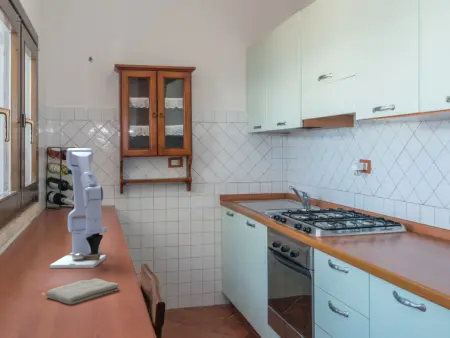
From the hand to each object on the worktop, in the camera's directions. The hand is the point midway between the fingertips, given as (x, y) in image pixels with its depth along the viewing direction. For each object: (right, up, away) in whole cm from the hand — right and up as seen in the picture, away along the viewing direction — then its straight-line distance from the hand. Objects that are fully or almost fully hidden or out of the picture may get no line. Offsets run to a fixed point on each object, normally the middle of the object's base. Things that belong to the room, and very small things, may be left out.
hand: (94, 254), depth 173 cm
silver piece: (-4, -2, +2) cm, 5 cm away
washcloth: (+8, -6, -37) cm, 39 cm away
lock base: (-7, -4, +2) cm, 8 cm away
